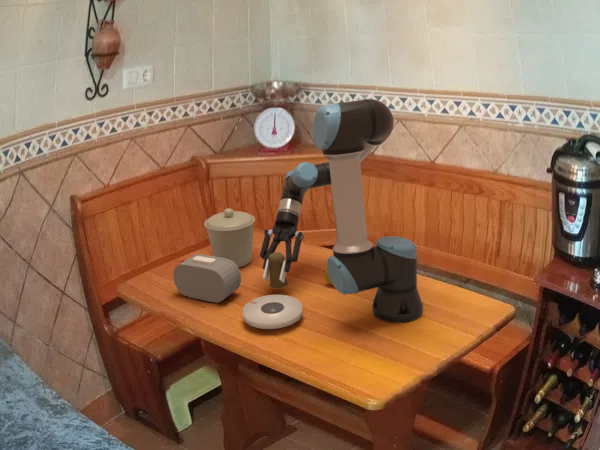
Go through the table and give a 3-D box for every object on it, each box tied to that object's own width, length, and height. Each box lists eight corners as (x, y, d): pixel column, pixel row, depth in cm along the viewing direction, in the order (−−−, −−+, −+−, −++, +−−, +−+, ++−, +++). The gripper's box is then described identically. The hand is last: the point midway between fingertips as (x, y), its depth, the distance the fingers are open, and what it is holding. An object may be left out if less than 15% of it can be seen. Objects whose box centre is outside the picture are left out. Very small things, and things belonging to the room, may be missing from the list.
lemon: (338, 280, 229) (337, 258, 226) (344, 286, 224) (343, 264, 221) (322, 283, 228) (321, 261, 225) (328, 289, 223) (327, 267, 220)
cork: (285, 288, 219) (282, 257, 215) (267, 288, 220) (264, 257, 217) (289, 280, 225) (287, 250, 221) (271, 280, 226) (269, 250, 222)
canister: (209, 255, 256) (203, 203, 248) (257, 251, 257) (252, 198, 250) (208, 275, 239) (202, 219, 231) (260, 270, 240) (255, 214, 233)
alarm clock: (243, 294, 224) (239, 257, 219) (227, 307, 216) (223, 268, 211) (193, 284, 233) (188, 248, 228) (176, 296, 225) (170, 259, 221)
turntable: (314, 308, 207) (313, 301, 206) (278, 334, 193) (278, 327, 193) (267, 295, 217) (267, 289, 216) (231, 319, 204) (230, 312, 203)
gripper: (316, 221, 227) (303, 286, 218) (267, 218, 233) (251, 281, 224) (310, 211, 220) (296, 278, 212) (259, 208, 227) (243, 273, 218)
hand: (273, 280), depth 218 cm, fingers closed on cork, 5 cm apart
